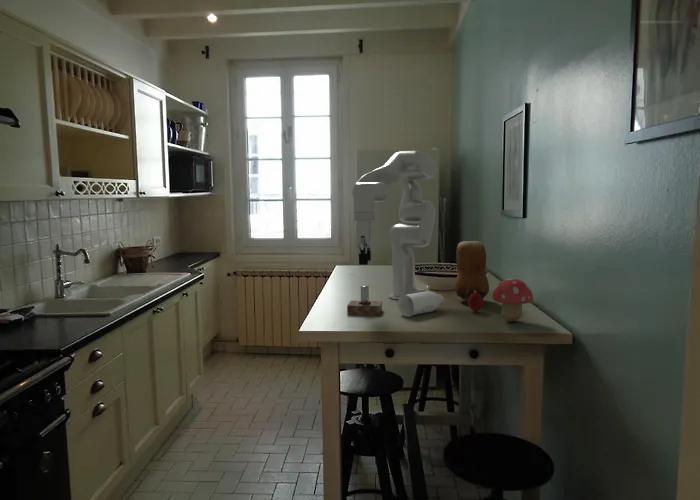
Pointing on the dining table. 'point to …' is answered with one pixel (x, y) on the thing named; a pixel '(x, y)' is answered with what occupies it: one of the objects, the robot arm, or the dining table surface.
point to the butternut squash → (471, 270)
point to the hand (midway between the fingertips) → (365, 262)
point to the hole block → (364, 308)
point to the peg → (364, 295)
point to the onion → (475, 301)
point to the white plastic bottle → (419, 303)
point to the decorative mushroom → (512, 297)
